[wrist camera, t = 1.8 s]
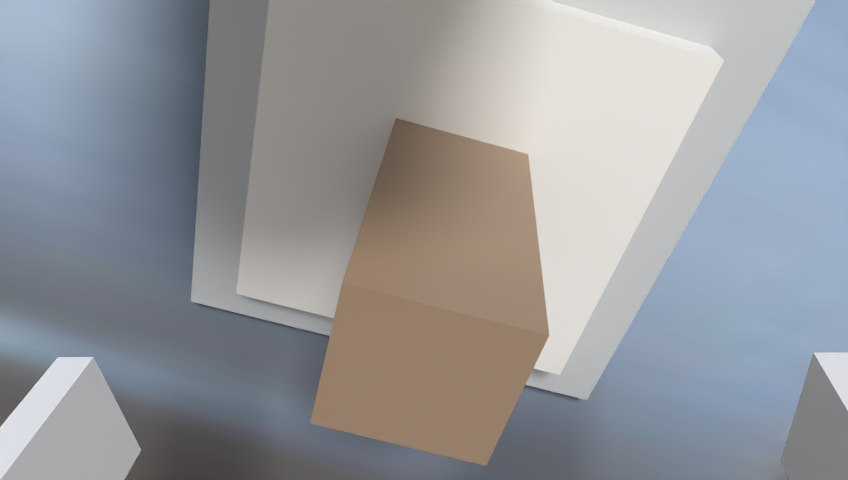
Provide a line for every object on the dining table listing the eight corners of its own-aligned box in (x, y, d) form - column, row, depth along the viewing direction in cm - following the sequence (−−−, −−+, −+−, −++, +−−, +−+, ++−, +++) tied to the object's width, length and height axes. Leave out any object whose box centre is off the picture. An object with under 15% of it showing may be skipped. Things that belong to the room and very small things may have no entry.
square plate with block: (557, 352, 24) (588, 595, 17) (246, 274, 24) (128, 490, 16) (711, 47, 18) (879, 214, 10) (289, -75, 17) (123, 4, 9)
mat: (584, 389, 26) (586, 400, 26) (196, 291, 25) (191, 301, 25) (809, -11, 17) (819, -6, 17) (229, -184, 16) (221, -184, 16)
